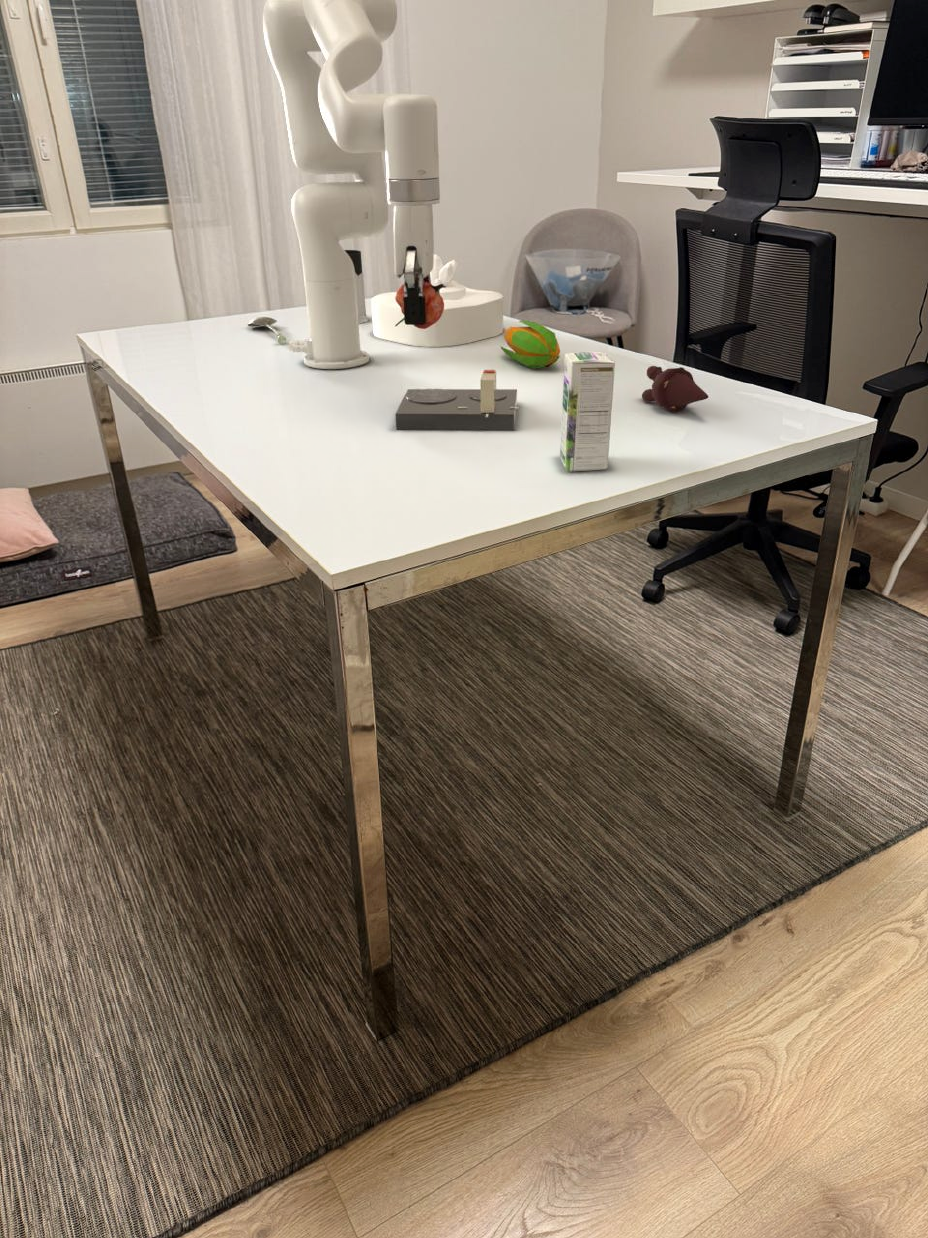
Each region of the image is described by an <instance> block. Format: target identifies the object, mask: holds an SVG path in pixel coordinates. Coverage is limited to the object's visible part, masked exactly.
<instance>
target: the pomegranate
mask: <svg viewBox="0 0 928 1238" xmlns="http://www.w3.org/2000/svg"><path fill="white" fill-rule="evenodd" d="M418 282H419V281H418ZM418 285H419V283H418ZM443 287H444V288H445V287H446V286H444V285H443V284H440V285H437V286H433V285H432V284H430V283H428V282H425V281H424V282H423V296H425V302H426V323H425V324H424V325H414V326H415V327H417V328H420V329H426V328H428V327H429V326H431V325H433V324H435V323H436V322H437V321H438V320H439V319H440V318H441V316H442V313H443V310H444V301H443V298H442V297H441V296H440V292H439V291H440V289H441V288H443ZM396 292H397V294H396V297H395V299H396V302H397V303H398V305H399V306H400V307H401V311H402V313H403V314H404V301H403V297H404V283H403V284H402V285H401V286H400V287H399V288H398V290H397V291H396ZM403 321H404V318H403V319H402V320H401V321H399V322H398V323H397V324H396V325H395V326H397V325H398V324H400V323H401V322H403Z"/></svg>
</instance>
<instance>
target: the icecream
mask: <svg viewBox="0 0 928 1238" xmlns="http://www.w3.org/2000/svg"><path fill="white" fill-rule="evenodd" d="M646 377H647V378H648V379H649V380H652V381H653V382H652V384H651V388H647V389H645V390H644V391H643V392H642V394H641V399H642V400H643V402H646V403H654V402H656V403H657V405H658V406H659V407H660V408H662V409H664V410H667V411H669V412H671V413H676V412H681V411H684V410H685V409H686V408H687V407H688V405H691V404H693V403H697V402H700V401H705V400H707V399H709V395H708V394H707V393H706V392H705V391H704V390H703V389H702V388H701V387H700V386H699V385H698V384H697V383H696V382H695V380H694V377H693V374H692V373H691V372H690V371H689V370H687V369H685V368H684V367H683V366H682V367H681V366H680V367H673V368H666V369H665V370H663V368H662V366H657V365H651V366H648V368H646Z"/></svg>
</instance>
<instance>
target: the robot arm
mask: <svg viewBox="0 0 928 1238" xmlns="http://www.w3.org/2000/svg"><path fill="white" fill-rule="evenodd" d="M397 21H398V7H397V2H396V0H266V2H265V4H264V7H263V11H262V29H263V37H264V42H265V47H266V50H267V53H268V56H269V58H270V59H269V60H270V61H271V64H272V66H273V69H274V71H275V74H276V76H277V79H278V81H279V84H280V87H281V92H282V97H283V103H284V104H283V105H284V112H285V118H286V126H287V132H288V138H289V144H290V150H291V155H292V159H293V162H294V164H295V167H296V168H297V170H298V171H299V172H300V173H302V174H305V175H310V176H311V175H313V176H322V175H324V176H325V175H346V174H351V175H352V177H353V179H354V181H341V182H340V181H331V182H329V181H327V182H316V183H315V182H314V183H309V184H306V185H304V186H301V187H299V188H298V189H296V191H295V192H294V194H293V196H292V198H291V207H290V208H291V214H292V220H293V223H294V227H295V231H296V235H297V239H298V244H299V250H300V256H301V265H302V274H303V284H304V293H305V302H306V313H307V322H308V334H309V337H308V338H305V340H289V341H288V348H289V351H290V352H292V353H304V354H306V355H305V356H304V357H303V364H304V365H305V366H307V367H309V368H313V369H318V370H319V369H321V370H341V369H342V370H343V369H351V368H356V367H360V366H362V365H365V364H367V363H368V362H369V361H370V355H369V354H370V353H368V352H366V351H365V350H362V349H361V338H360V325H359V324H360V323H359V322H358V309H357V295H356V282H355V270H354V265H353V262H352V260H351V258H350V257H349V255H348V254H347V253H346V251H345V250H346V249H344V247H342V245H341V244H340V241H344V240H351V239H361V238H362V239H363V238H372V237H376V236H380V235H381V234H384V232H385V231H386V229H387V227H388V223H389V206H393V207H394V208H393V259H394V260H393V261H394V264H393V265H394V267H393V268H394V269H393V271H394V276H395V277H396V278H397V279H400V278H401V277H403V284H404V297H403V301H404V320H405V324H406V325H424V324H425V323H426V302H425V296H423V282H424V281H425V282H428V283H430V284H431V278H430V272H431V271H432V269H433V264H434V255H435V243H434V240H435V239H434V238H435V237H434V214H433V205H436V204H438V205H439V204H440V203H441V194H440V193H441V192H440V190H441V189H440V161H439V159H440V158H439V157H440V156H439V128H438V105H437V102H436V100H435V98H434V97H433V96H432V95H429V94H426V93H425V94H423V93H349V92H350V91H353V90H354V89H356V88H358V87H360V86H361V85H363V84H365V83H366V82H368V81H369V80H371V78H373V76H375V74H376V73H377V72H378V70H379V68H380V66H381V65H382V61H383V56H384V55H383V46H382V43H384V42H385V41H387V40H388V39H389V38H390V37H391V36H392V34H393V33H394V31H395V29H396V26H397ZM309 52H312V53H313V52H315V53H317V52H318V53H322V55H323V56H324V58H325V61H324V63H323V65H322V67H321V66H320V65H319V64H318V62H317V61H316V60H315V59H314V58H313V57H312V56H311V55H310V54H308V53H309ZM383 153H385V169H386V171H385V170H384V161H383ZM385 173H386V178H385ZM418 281H419V282H418ZM418 283H419V285H418Z"/></svg>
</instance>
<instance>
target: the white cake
mask: <svg viewBox="0 0 928 1238" xmlns="http://www.w3.org/2000/svg"><path fill="white" fill-rule="evenodd" d="M458 266H459V264H458V262H457V261H456V260H455V259H452V260H451V261H448V262H447V263H445V264H444V262H443V260H442V258H441V256H439V255H438V254H437V253H434V264H433V269H432V271H431V272H430V278H431V284H432V285H433V286H437V285H440V284H443V285H444V286H446V287H445V288H444V287H443V288H441V289H440V291H439V292H440V296H441V297H442V298H443V301H444V310H443V313H442V316H441V318H440V319H439V320H438V321H437V322H436V323H435V324H433V325H431V326H429V327H428V328H426V329H420V328H417V327H415V326H414V325H406V324H405V320H404V321H403V322H401V323H400V324H398V325H397V326H395V325H396V324H397V323H398V322H399V321H401V320H402V319H403V318H404V314H403V313H402V311H401V307H400V306H399V305H398V303H397V302H396V299H395V297H396V294H397V291H391V292H383V293H378V294H376V295H374V296H373V297H371V299H370V303H371V304H370V305H371V316H372V317H371V318H372V333H373V334H372V335H374V337H376V338H378V339H381V340H384V341H388V342H394V343H398V344H402V345H403V344H404V345H407V346H414V347H425V348H440V347H441V348H442V347H454V346H460V345H465V344H469V343H473V342H478V341H482V340H486V339H490V338H494V337H497V336H499V335H502V333H503V332H504V296H503V294H502V293H500V292H497V291H492V290H480V289H474V288H470V287H467V286H465V285H463V284H459V282H458V281H456V280H455V279H452V278H453V276H454V275H455V274H456V271H457V268H458ZM451 279H452V280H451Z"/></svg>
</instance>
